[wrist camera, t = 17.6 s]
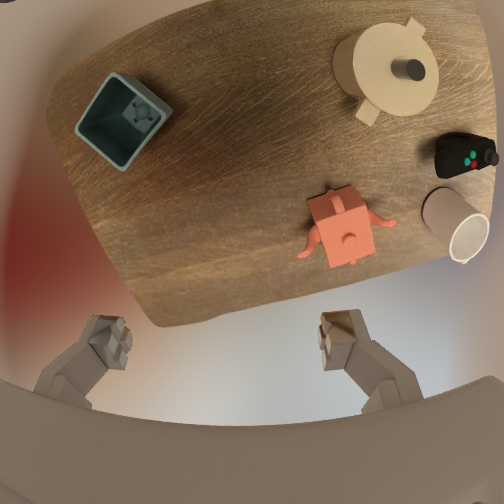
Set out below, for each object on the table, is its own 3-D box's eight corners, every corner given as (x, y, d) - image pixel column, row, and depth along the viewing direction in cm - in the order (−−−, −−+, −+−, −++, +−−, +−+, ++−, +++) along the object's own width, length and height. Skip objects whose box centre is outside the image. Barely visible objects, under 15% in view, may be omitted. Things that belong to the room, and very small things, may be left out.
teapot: (383, 228, 44) (403, 258, 38) (301, 257, 48) (310, 291, 41) (370, 165, 38) (394, 187, 31) (277, 197, 41) (283, 226, 35)
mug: (416, 192, 40) (449, 224, 32) (455, 178, 38) (490, 206, 30) (421, 243, 46) (447, 278, 38) (456, 227, 44) (485, 259, 36)
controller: (469, 146, 35) (506, 168, 26) (416, 165, 38) (450, 191, 29) (466, 123, 32) (505, 141, 24) (411, 140, 35) (448, 162, 27)
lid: (331, 79, 25) (345, 80, 21) (374, 6, 19) (393, -2, 15) (408, 132, 27) (429, 142, 24) (445, 64, 22) (469, 67, 18)
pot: (309, 93, 32) (326, 98, 25) (359, 7, 24) (386, -6, 17) (371, 131, 35) (398, 146, 28) (417, 50, 27) (452, 50, 20)
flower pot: (104, 117, 33) (71, 131, 26) (140, 69, 30) (111, 69, 22) (147, 152, 37) (122, 174, 29) (186, 106, 33) (168, 115, 26)
